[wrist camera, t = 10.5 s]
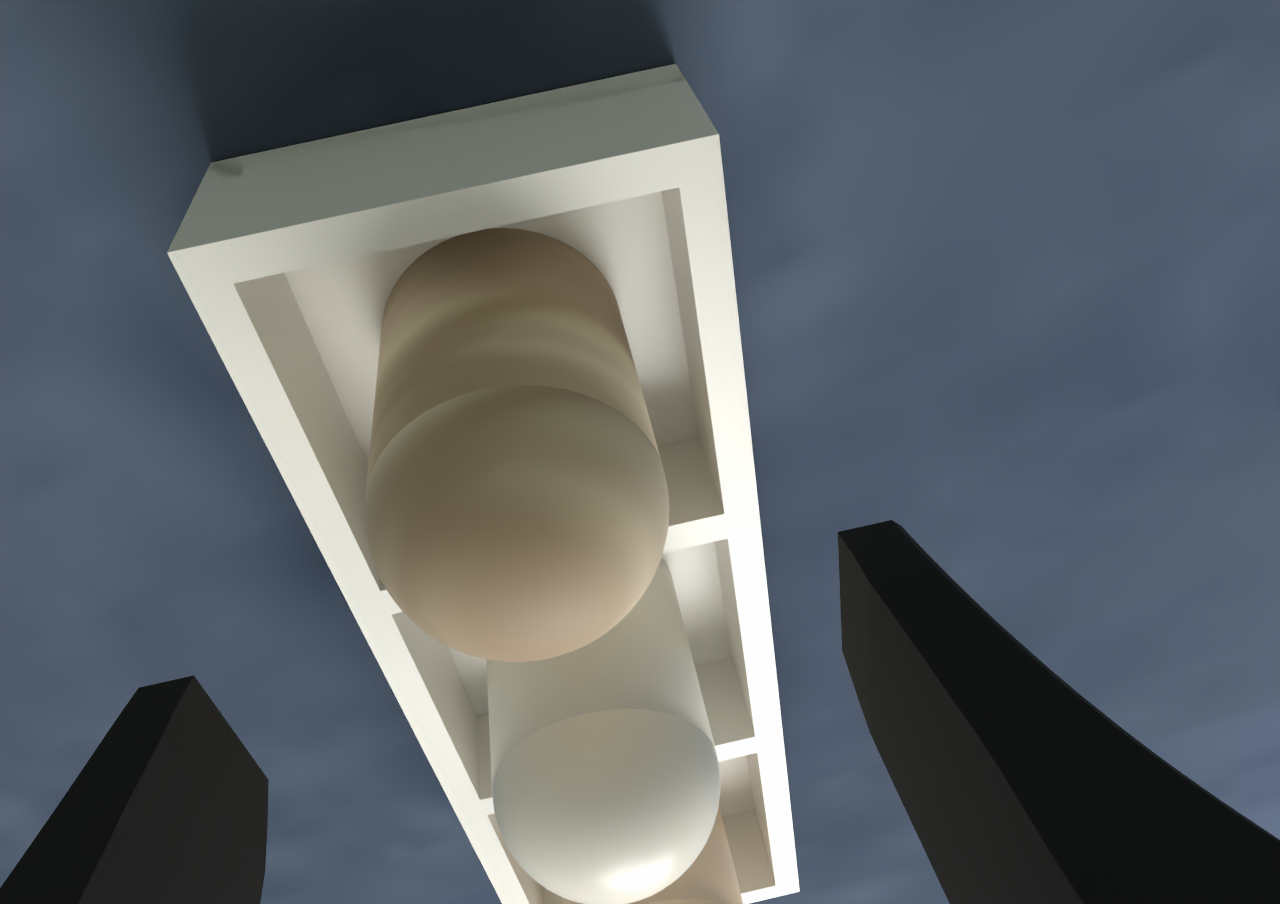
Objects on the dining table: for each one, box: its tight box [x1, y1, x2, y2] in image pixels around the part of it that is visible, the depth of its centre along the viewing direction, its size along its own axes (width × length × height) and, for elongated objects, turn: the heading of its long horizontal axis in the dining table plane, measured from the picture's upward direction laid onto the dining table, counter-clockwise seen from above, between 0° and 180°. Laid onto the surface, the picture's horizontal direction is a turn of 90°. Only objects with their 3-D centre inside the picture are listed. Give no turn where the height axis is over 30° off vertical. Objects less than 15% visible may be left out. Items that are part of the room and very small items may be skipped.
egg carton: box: [167, 64, 800, 904], centre depth 18 cm, size 7×20×7 cm, turn 9°
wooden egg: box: [365, 228, 669, 662], centre depth 14 cm, size 4×4×6 cm
